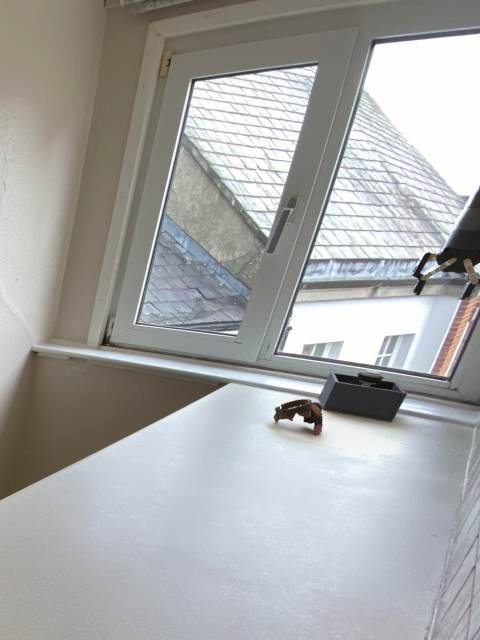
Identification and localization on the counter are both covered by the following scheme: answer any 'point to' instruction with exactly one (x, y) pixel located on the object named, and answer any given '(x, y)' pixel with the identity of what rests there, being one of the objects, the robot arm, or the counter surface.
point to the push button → (369, 377)
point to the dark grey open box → (361, 397)
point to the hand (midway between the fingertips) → (438, 297)
